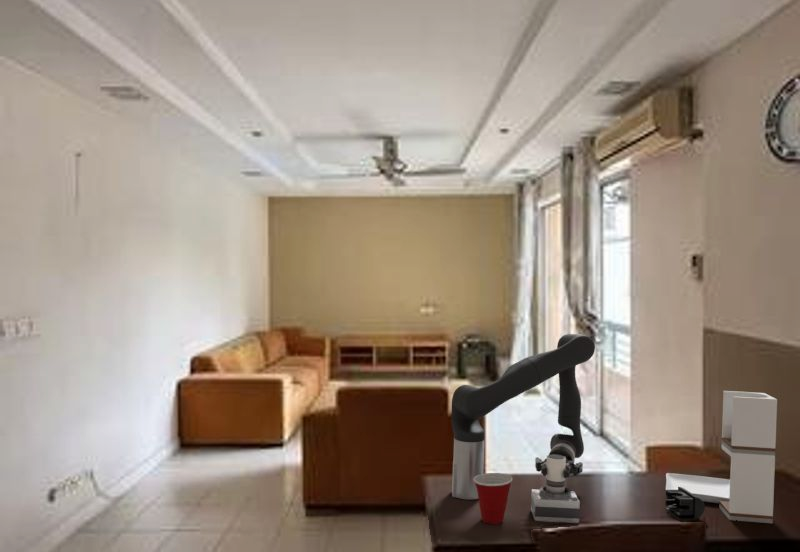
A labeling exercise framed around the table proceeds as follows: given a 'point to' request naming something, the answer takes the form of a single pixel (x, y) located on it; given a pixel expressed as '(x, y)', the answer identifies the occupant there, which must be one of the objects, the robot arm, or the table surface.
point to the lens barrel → (555, 474)
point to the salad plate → (700, 486)
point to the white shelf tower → (749, 455)
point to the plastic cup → (492, 495)
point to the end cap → (684, 504)
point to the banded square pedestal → (555, 506)
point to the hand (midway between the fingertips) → (554, 473)
